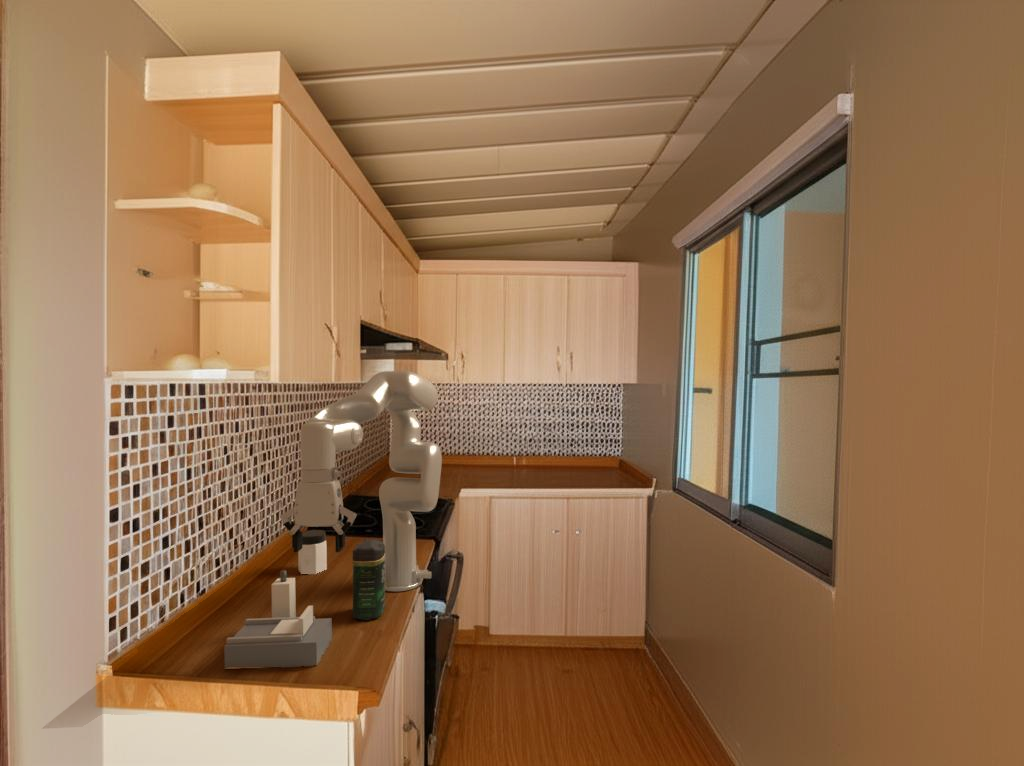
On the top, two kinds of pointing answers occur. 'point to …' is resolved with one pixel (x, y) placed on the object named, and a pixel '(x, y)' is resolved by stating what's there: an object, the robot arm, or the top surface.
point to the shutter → (295, 624)
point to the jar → (313, 552)
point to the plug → (283, 597)
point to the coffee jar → (368, 579)
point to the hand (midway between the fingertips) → (318, 550)
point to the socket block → (277, 644)
